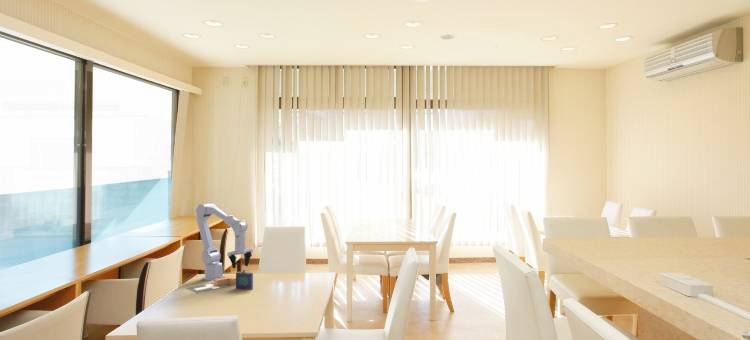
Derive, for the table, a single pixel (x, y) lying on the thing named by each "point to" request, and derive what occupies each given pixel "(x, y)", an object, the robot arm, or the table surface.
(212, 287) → the mat
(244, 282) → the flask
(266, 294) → the table surface
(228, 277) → the t block
